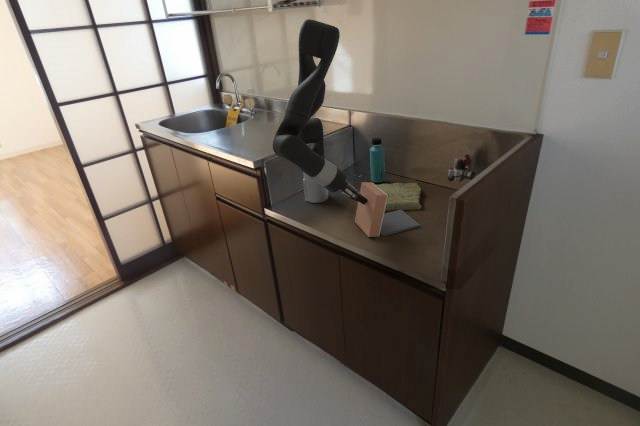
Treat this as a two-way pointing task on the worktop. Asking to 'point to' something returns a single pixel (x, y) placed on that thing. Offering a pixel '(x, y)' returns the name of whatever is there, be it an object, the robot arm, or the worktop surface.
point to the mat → (397, 223)
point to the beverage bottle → (377, 161)
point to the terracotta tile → (371, 209)
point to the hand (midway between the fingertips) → (365, 201)
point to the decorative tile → (401, 196)
